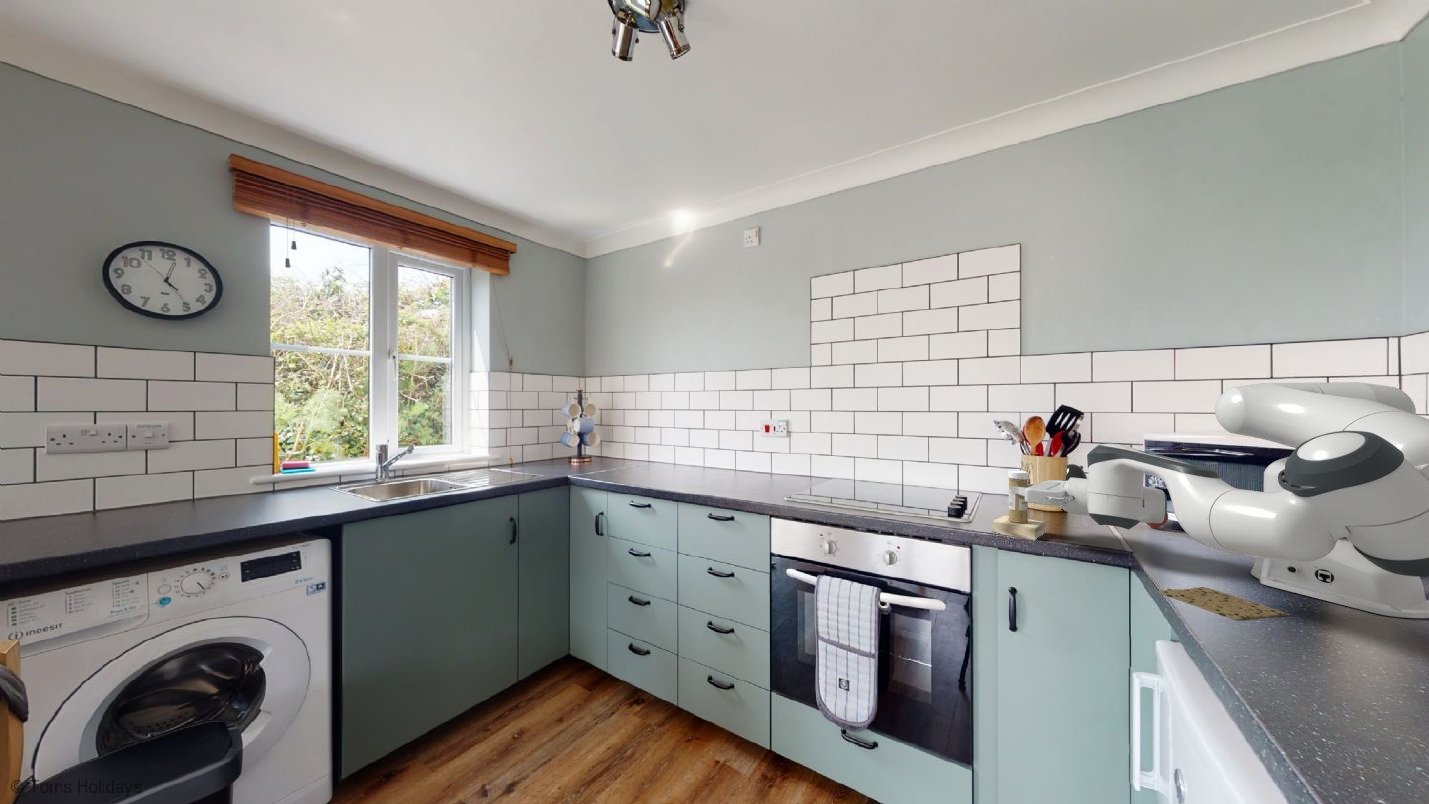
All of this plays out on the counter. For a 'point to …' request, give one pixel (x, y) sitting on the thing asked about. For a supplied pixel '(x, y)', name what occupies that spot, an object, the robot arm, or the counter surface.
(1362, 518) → the robot arm
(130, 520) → the counter surface
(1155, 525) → the onion
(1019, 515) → the sprinkles bottle
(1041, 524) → the block
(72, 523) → the counter surface
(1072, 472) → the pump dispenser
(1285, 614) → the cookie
